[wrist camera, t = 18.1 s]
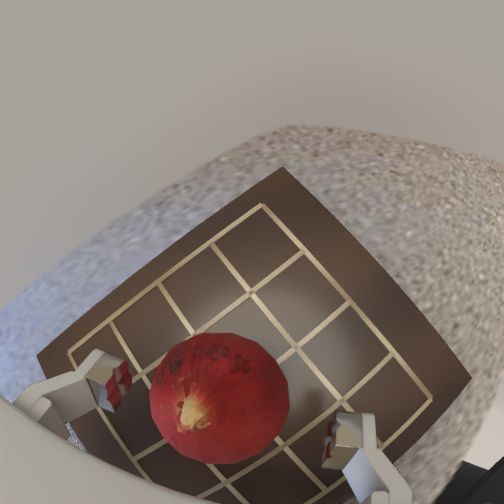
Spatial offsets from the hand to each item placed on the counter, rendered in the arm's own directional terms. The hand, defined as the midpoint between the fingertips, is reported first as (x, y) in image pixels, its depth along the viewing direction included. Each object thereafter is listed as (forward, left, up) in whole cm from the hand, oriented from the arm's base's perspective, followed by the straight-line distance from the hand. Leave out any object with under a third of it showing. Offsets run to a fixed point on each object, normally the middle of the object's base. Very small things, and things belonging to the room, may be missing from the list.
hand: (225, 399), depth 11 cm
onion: (0, 0, -5) cm, 5 cm away
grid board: (0, 0, -7) cm, 7 cm away
